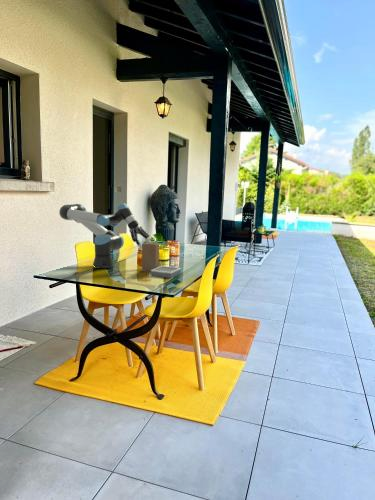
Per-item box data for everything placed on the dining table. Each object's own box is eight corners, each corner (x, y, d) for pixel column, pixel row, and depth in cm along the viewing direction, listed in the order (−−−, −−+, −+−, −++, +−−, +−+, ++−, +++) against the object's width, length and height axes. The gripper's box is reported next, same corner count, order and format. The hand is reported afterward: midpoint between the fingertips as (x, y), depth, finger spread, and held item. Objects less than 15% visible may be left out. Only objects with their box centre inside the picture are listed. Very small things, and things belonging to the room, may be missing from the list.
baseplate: (151, 275, 253) (151, 270, 253) (161, 271, 267) (161, 265, 266) (171, 278, 247) (171, 272, 247) (180, 273, 261) (180, 268, 260)
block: (155, 272, 262) (155, 244, 258) (141, 271, 264) (141, 243, 260) (159, 269, 271) (159, 242, 268) (146, 268, 273) (145, 241, 270)
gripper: (125, 221, 265) (141, 246, 263) (143, 218, 287) (158, 242, 285) (118, 226, 268) (133, 252, 266) (137, 223, 291) (151, 247, 289)
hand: (146, 246), depth 276 cm, fingers open, 13 cm apart
